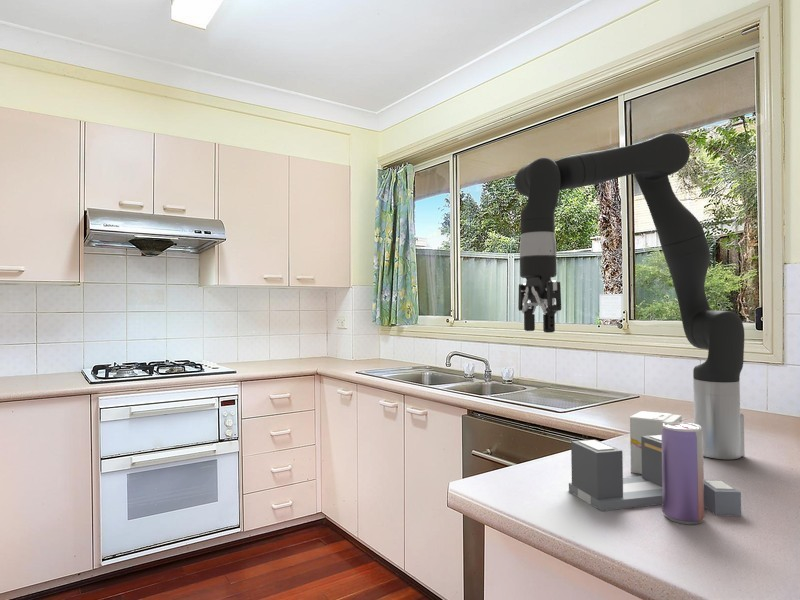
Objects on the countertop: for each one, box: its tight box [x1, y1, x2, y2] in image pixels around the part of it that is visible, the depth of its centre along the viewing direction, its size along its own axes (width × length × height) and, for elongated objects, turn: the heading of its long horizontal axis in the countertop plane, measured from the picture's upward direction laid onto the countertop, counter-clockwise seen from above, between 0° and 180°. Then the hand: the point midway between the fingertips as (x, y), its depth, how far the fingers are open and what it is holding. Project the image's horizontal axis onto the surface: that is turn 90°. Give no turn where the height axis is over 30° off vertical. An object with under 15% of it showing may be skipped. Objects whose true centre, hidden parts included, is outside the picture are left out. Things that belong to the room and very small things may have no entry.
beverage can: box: [661, 422, 705, 526], centre depth 86 cm, size 6×6×15 cm
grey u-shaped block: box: [568, 435, 663, 512], centre depth 96 cm, size 20×10×10 cm, turn 103°
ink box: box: [629, 410, 683, 475], centre depth 110 cm, size 9×8×12 cm
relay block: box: [704, 479, 742, 517], centre depth 90 cm, size 6×4×4 cm, turn 173°
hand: (538, 331), depth 112 cm, fingers open, 8 cm apart
